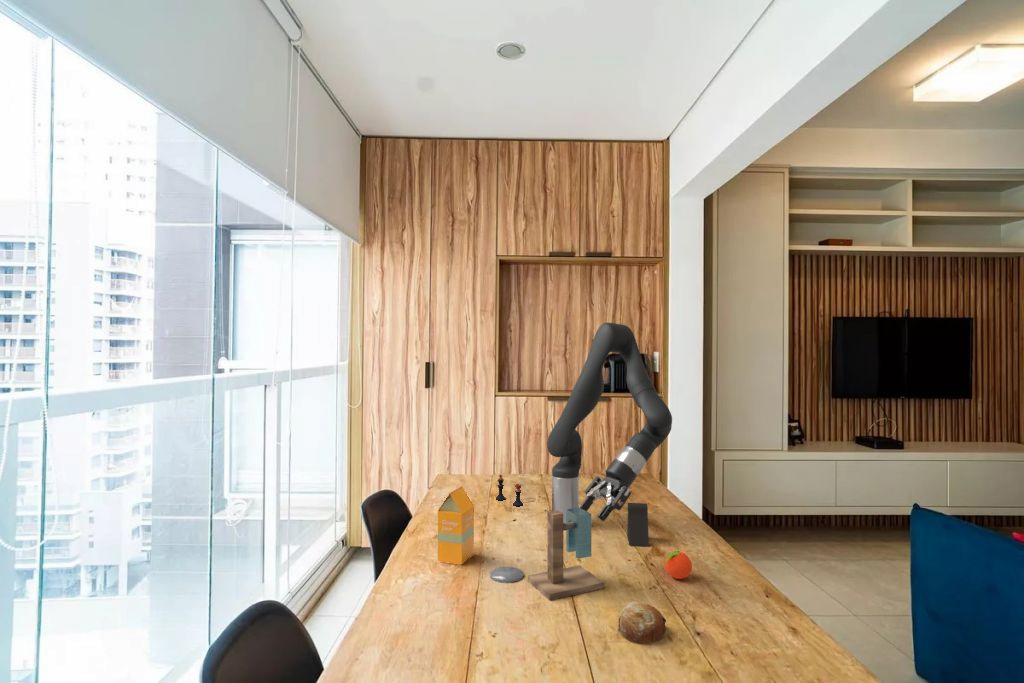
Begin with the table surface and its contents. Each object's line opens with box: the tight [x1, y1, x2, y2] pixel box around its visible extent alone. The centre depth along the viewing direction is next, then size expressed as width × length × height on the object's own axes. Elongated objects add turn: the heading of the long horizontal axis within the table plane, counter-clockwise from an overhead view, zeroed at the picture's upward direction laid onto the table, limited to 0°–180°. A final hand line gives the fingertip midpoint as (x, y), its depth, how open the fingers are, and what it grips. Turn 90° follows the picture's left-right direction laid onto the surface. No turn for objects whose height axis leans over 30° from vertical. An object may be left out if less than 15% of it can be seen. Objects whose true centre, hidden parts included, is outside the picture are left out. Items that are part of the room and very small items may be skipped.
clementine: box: [664, 550, 693, 580], centre depth 144 cm, size 8×7×7 cm
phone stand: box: [626, 502, 650, 547], centre depth 172 cm, size 9×6×12 cm, turn 172°
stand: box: [527, 510, 606, 601], centre depth 140 cm, size 12×16×19 cm
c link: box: [565, 507, 592, 560], centre depth 142 cm, size 6×4×11 cm, turn 25°
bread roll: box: [616, 600, 667, 645], centre depth 117 cm, size 10×10×8 cm
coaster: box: [489, 566, 525, 584], centre depth 146 cm, size 9×9×1 cm
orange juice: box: [437, 486, 475, 565], centre depth 158 cm, size 8×9×20 cm
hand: (591, 514), depth 144 cm, fingers open, 8 cm apart
